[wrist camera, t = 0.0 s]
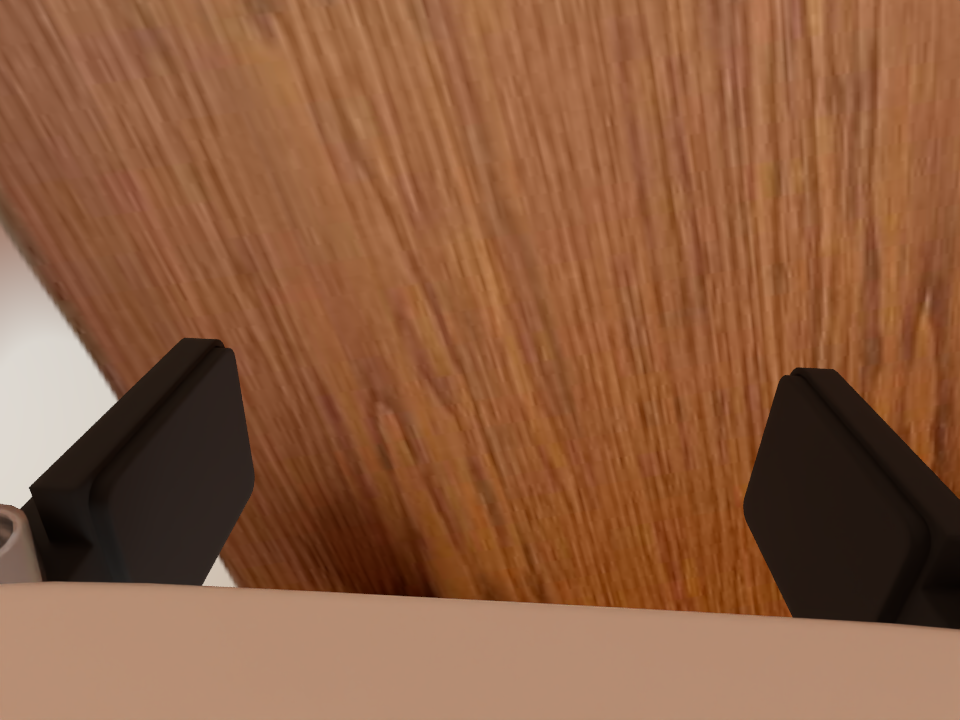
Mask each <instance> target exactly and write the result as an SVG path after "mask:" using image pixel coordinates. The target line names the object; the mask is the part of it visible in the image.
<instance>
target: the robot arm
mask: <svg viewBox="0 0 960 720" xmlns="http://www.w3.org/2000/svg"><path fill="white" fill-rule="evenodd" d="M254 478H255V476H254V468H253V462H252V456H251V450H250V444H249V438H248V432H247V425H246V419H245V413H244V407H243V401H242V395H241V389H240V383H239V377H238V371H237V365H236V359H235V354H234V352H233V350H232V349H231V348H225V347H224V345H223V343H222V342H221V341H220V340H218V339H198V338H184V339H182V340H181V341H180V342H179V343H177V344H176V345H175V346H174V347H173V348H172V349H171V350H170V351H169V352H168V353H167V354H166V355H165V356H164V357H163V358H162V359H161V360H160V361H159V362H158V363H157V364H156V365H155V366H154V367H153V368H152V369H151V370H150V371H149V372H148V373H147V374H146V375H144V376H143V377H142V378H141V379H140V380H139V381H138V382H137V383H136V384H135V385H134V386H133V387H132V388H131V389H130V390H129V391H128V392H127V393H126V394H125V395H124V396H123V397H122V398H121V399H120V400H119V401H118V402H117V403H116V404H115V405H114V406H113V407H111V408H110V410H108V411H107V412H106V414H104V415H103V416H102V417H101V418H100V419H99V420H98V421H97V422H96V423H95V424H94V425H93V426H92V427H91V428H90V429H89V430H88V431H87V432H86V433H85V434H84V435H83V436H82V437H81V438H80V439H79V440H78V441H76V443H74V444H73V445H72V446H71V447H70V448H69V449H68V450H67V451H66V452H65V453H64V454H63V455H62V456H61V457H60V458H59V459H58V460H57V461H56V462H55V463H54V464H53V465H52V466H51V467H50V468H49V469H48V470H47V471H46V472H45V473H44V474H42V475H41V476H40V477H39V478H38V479H37V480H36V481H35V482H34V483H33V484H32V485H31V486H30V487H29V489H30V491H31V494H32V498H31V499H30V500H29V501H28V502H27V503H26V504H25V505H24V506H23V507H22V508H21V509H18V508H16V507H14V506H12V505H3V504H0V720H960V500H959V499H958V498H957V497H956V496H955V494H954V493H953V492H952V491H951V490H950V489H949V488H948V487H947V486H946V485H945V484H944V483H943V482H942V481H941V480H940V479H939V478H938V477H937V476H936V475H935V474H934V473H933V471H932V470H931V469H930V468H929V467H928V466H927V465H926V464H925V463H924V462H923V461H922V460H921V459H920V458H919V457H918V456H917V455H916V454H915V453H914V452H913V451H912V450H911V449H910V447H909V446H908V445H907V444H906V443H905V442H904V441H903V440H902V439H901V438H900V437H899V436H898V435H897V434H896V433H895V432H894V431H893V430H892V429H891V428H890V427H889V426H888V425H887V423H886V422H885V421H884V420H883V419H882V418H881V417H880V416H879V415H878V414H877V413H876V412H875V411H874V410H873V409H872V408H871V407H870V406H869V405H868V404H867V403H866V402H865V400H864V399H863V398H862V397H861V396H860V395H859V394H858V393H857V392H856V391H855V390H854V389H853V388H852V387H851V386H850V385H849V384H848V383H847V382H846V381H845V380H844V379H843V378H842V376H841V375H840V374H839V373H838V372H836V371H835V370H834V369H818V368H796V369H794V370H793V371H792V373H791V374H790V375H785V376H783V377H782V378H781V379H780V381H779V384H778V387H777V390H776V393H775V397H774V400H773V404H772V407H771V410H770V414H769V417H768V420H767V424H766V427H765V430H764V434H763V437H762V440H761V444H760V447H759V451H758V454H757V457H756V461H755V464H754V467H753V471H752V474H751V477H750V481H749V484H748V487H747V491H746V494H745V498H744V505H743V509H744V516H745V519H746V522H747V524H748V526H749V528H750V530H751V532H752V534H753V536H754V538H755V540H756V543H757V545H758V547H759V549H760V551H761V553H762V555H763V557H764V559H765V561H766V563H767V565H768V567H769V569H770V571H771V573H772V575H773V578H774V580H775V582H776V584H777V586H778V588H779V590H780V592H781V594H782V596H783V598H784V600H785V602H786V604H787V606H788V608H789V610H790V613H791V615H792V617H793V618H791V617H774V616H758V615H741V614H724V613H707V612H689V611H671V610H652V609H634V608H615V607H597V606H578V605H560V604H542V603H524V602H505V601H485V600H467V599H448V598H429V597H411V596H393V595H374V594H356V593H338V592H317V591H297V590H276V589H256V588H235V587H215V586H202V584H203V583H204V581H205V579H206V577H207V575H208V573H209V571H210V569H211V568H212V566H213V564H214V562H215V560H216V558H217V557H218V555H219V553H220V551H221V549H222V547H223V546H224V544H225V542H226V540H227V538H228V536H229V535H230V533H231V531H232V529H233V527H234V525H235V523H236V522H237V520H238V518H239V516H240V514H241V512H242V511H243V509H244V507H245V505H246V503H247V501H248V499H249V498H250V496H251V493H252V491H253V487H254Z"/></svg>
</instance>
